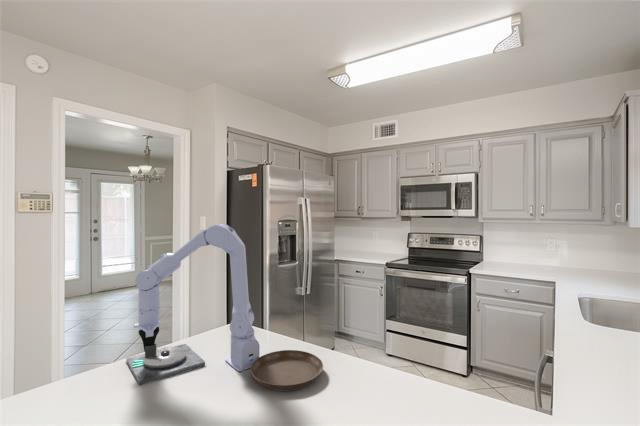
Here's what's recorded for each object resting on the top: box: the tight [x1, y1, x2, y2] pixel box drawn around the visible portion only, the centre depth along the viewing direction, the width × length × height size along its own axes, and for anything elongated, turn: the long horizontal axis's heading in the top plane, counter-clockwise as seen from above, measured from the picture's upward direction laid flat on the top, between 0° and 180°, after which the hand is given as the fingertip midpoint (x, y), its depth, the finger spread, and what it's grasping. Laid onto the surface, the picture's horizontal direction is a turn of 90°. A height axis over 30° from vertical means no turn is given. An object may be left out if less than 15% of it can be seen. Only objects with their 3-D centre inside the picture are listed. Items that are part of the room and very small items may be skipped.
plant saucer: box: [250, 349, 324, 392], centre depth 96 cm, size 21×21×3 cm
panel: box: [125, 343, 206, 386], centre depth 103 cm, size 18×18×2 cm
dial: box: [143, 343, 186, 368], centre depth 103 cm, size 12×12×5 cm
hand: (149, 352), depth 103 cm, fingers closed, pressing on dial
